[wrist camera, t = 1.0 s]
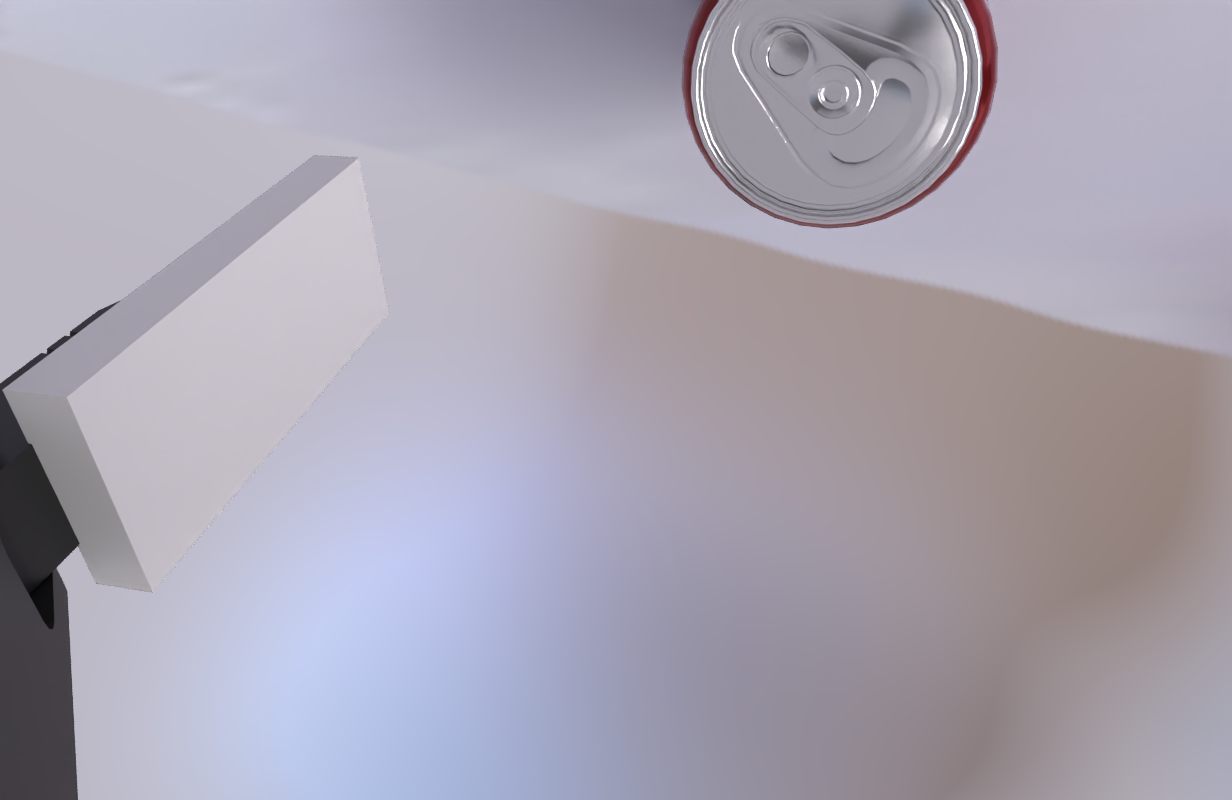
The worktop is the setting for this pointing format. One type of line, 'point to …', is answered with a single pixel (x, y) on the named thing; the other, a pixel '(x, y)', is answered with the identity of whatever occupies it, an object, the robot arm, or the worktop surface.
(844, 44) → the soda can
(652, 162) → the worktop surface
